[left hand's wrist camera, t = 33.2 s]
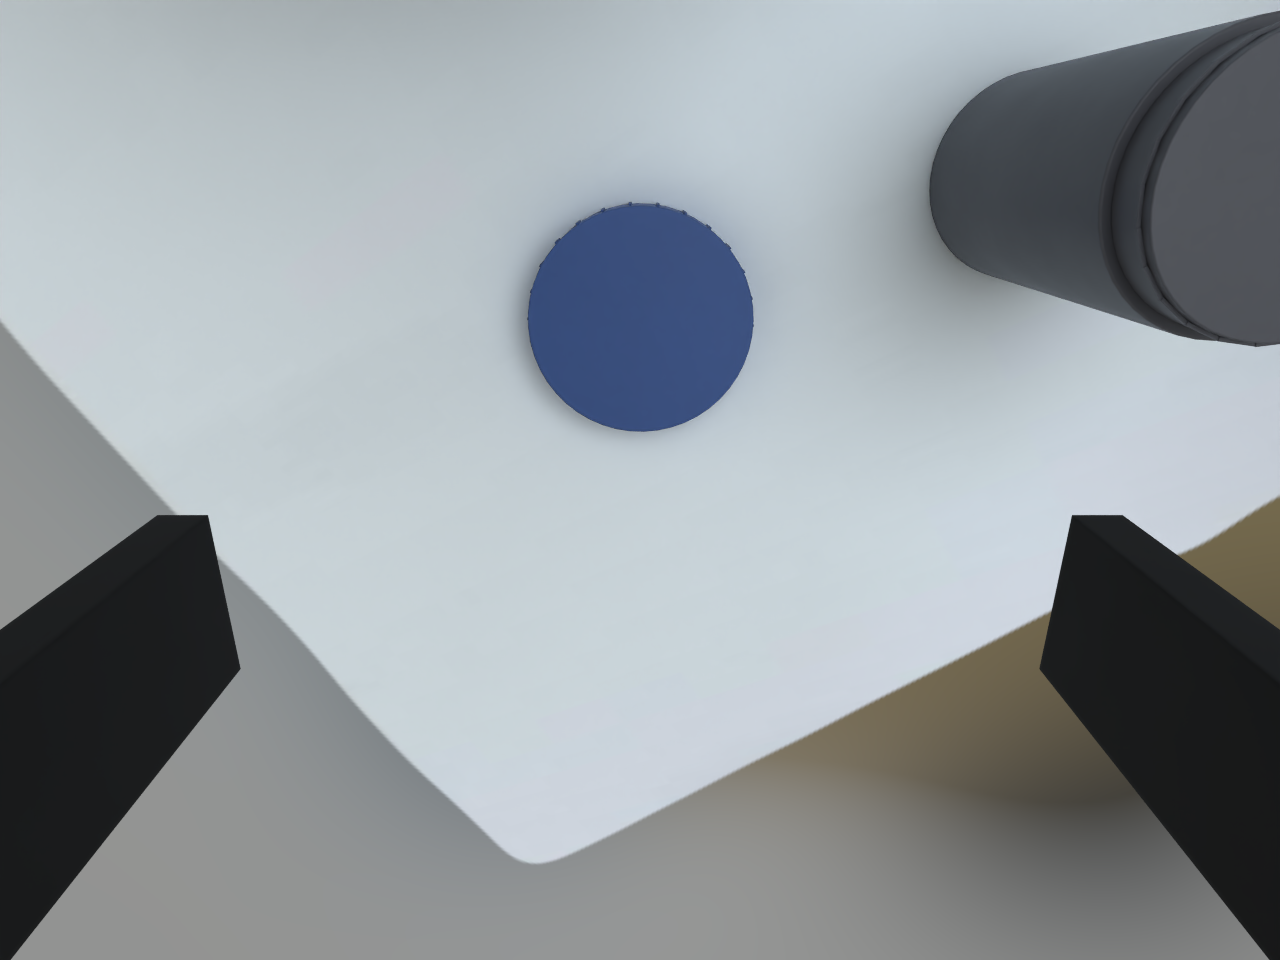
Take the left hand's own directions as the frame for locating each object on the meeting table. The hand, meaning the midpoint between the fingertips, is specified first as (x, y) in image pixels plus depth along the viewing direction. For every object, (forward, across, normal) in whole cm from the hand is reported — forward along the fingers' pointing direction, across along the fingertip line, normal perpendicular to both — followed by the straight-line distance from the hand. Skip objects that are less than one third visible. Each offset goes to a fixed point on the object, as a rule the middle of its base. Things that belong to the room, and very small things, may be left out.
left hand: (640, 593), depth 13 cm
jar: (+26, +17, +6) cm, 32 cm away
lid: (+24, 0, 0) cm, 25 cm away
